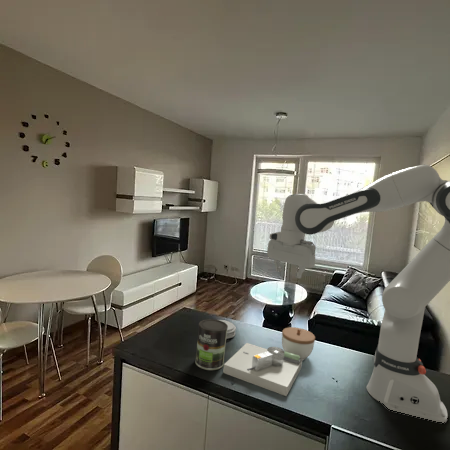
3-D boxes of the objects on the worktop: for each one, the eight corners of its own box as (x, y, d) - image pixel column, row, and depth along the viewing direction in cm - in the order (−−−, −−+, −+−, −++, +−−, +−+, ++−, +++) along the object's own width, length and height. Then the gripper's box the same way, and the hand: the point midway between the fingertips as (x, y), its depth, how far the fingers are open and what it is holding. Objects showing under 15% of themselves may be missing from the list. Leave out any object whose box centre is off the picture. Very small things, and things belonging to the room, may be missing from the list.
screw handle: (274, 355, 116) (275, 345, 115) (286, 363, 111) (288, 352, 111) (248, 364, 107) (249, 353, 107) (260, 373, 103) (261, 361, 102)
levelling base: (301, 368, 115) (303, 353, 115) (286, 396, 97) (288, 379, 97) (246, 350, 125) (247, 337, 125) (223, 372, 107) (224, 357, 107)
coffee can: (217, 373, 106) (221, 333, 105) (190, 365, 110) (193, 326, 109) (227, 360, 116) (231, 322, 115) (202, 352, 119) (205, 316, 118)
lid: (227, 343, 129) (228, 332, 129) (200, 335, 135) (202, 324, 134) (239, 333, 141) (240, 322, 140) (214, 325, 146) (215, 315, 146)
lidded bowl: (282, 345, 132) (285, 320, 131) (313, 353, 128) (316, 326, 127) (277, 359, 120) (280, 331, 119) (311, 367, 116) (314, 339, 115)
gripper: (321, 242, 110) (316, 281, 111) (277, 233, 126) (273, 267, 127) (310, 242, 106) (305, 282, 107) (266, 233, 122) (262, 268, 123)
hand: (287, 274), depth 117 cm, fingers open, 8 cm apart
